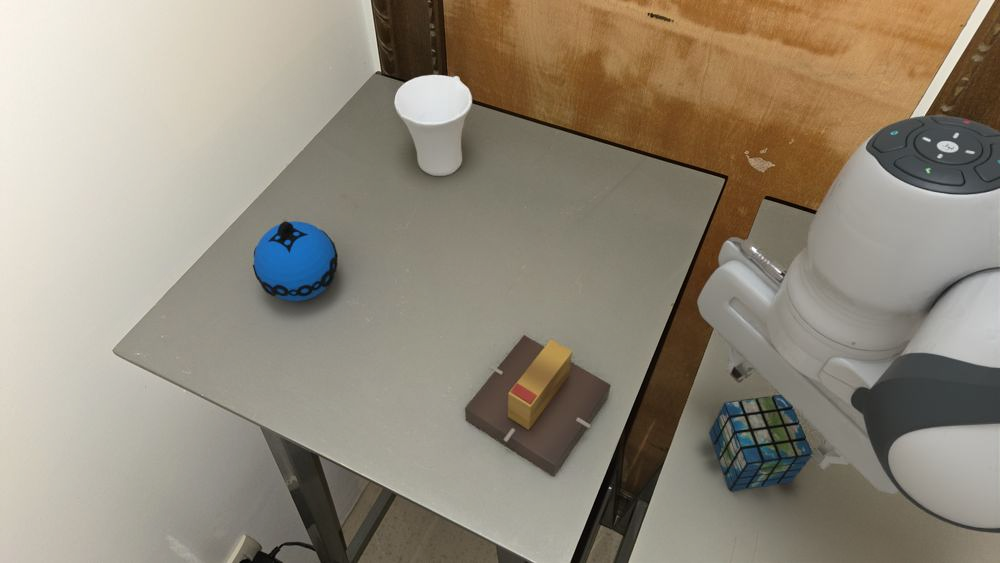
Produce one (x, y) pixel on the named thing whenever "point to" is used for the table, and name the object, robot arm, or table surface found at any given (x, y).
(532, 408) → the stamp
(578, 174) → the table surface
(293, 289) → the ornament
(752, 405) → the puzzle
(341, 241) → the table surface
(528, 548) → the table surface
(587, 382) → the stamp base
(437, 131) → the cup
